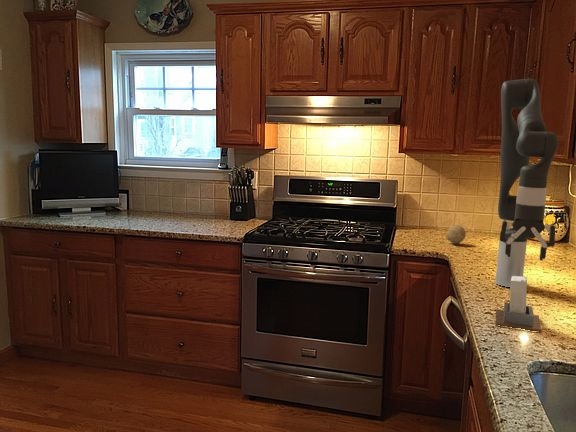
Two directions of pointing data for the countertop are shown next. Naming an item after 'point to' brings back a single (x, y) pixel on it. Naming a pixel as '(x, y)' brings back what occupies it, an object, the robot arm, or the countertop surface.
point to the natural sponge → (456, 234)
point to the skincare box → (518, 294)
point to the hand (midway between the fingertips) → (524, 258)
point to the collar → (518, 319)
